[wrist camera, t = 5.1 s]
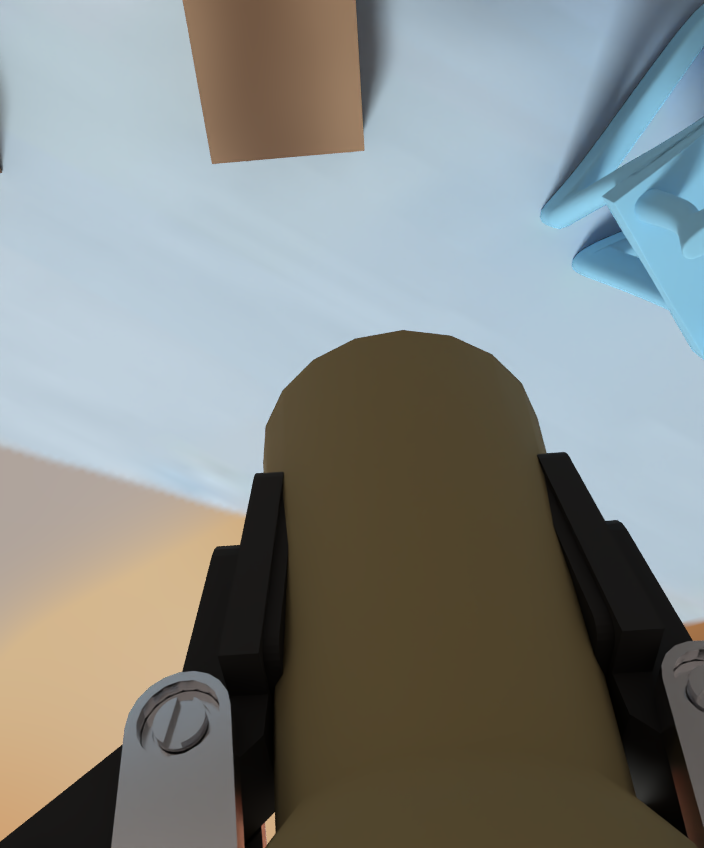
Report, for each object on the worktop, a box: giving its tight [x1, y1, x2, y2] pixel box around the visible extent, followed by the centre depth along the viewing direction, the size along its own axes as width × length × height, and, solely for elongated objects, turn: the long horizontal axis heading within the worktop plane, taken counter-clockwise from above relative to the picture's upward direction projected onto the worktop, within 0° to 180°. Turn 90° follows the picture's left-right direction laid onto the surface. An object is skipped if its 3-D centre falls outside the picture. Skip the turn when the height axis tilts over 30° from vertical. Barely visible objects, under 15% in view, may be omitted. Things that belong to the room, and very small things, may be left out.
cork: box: [263, 330, 698, 848], centre depth 9 cm, size 6×6×11 cm
